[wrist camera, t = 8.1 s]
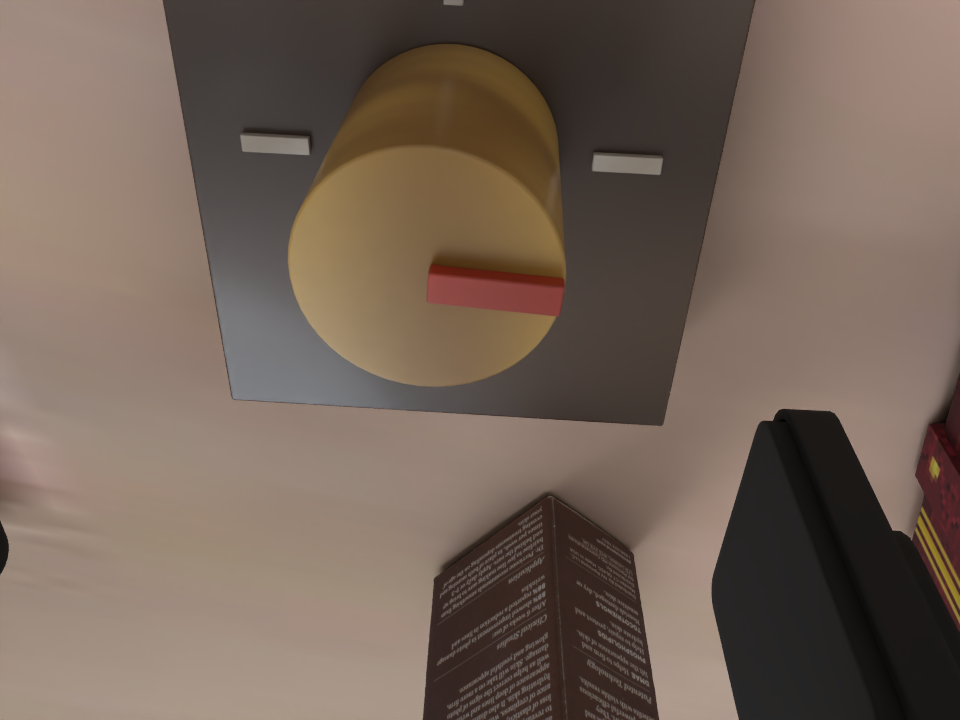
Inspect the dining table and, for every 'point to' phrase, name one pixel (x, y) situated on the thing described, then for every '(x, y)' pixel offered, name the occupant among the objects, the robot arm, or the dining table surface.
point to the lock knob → (435, 222)
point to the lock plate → (583, 171)
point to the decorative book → (942, 507)
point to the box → (540, 627)
